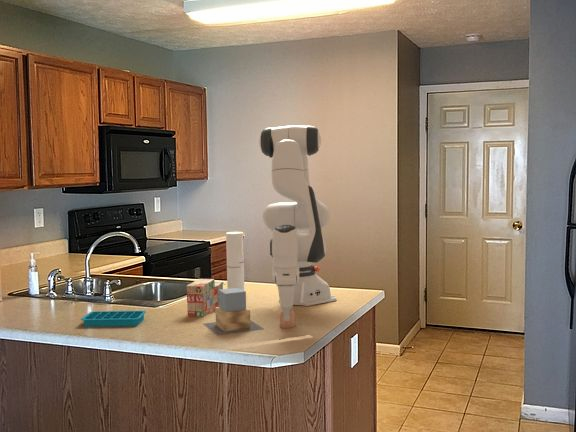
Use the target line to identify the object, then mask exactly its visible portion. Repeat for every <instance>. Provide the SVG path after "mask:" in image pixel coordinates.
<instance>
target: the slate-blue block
mask: <svg viewBox="0 0 576 432" xmlns="http://www.w3.org/2000/svg"><path fill="white" fill-rule="evenodd" d="M219 308H221V309H222V310H224V311H225V312H230V311H239V310H246V308H247V293H246V291H245V289H244V290H242V289H240V288H231V289H227V288H223V289H221V290H219Z"/></svg>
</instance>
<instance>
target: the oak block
mask: <svg viewBox="0 0 576 432" xmlns="http://www.w3.org/2000/svg"><path fill="white" fill-rule="evenodd" d="M214 314H215V322H216V325H217V326H218V327H219V328H221V329H222V330H223V331H231V330H238V329H246V328H251V325H250V320H251V310H250V309H249V308H248V307H246V310H239V311H230V312H225V311H224V310H222V309H221V308H219V307H215V312H214Z"/></svg>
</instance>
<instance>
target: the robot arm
mask: <svg viewBox="0 0 576 432" xmlns="http://www.w3.org/2000/svg"><path fill="white" fill-rule="evenodd" d="M258 143H259V148H260V150H261V153H262V154H264V156H266V157H269V158H271V159H272V161H271V182H272V187H273V189H274V190H275V192H276V193H278V194H279V195H280V196H282V197H284V198H287V199H289V200H291V201H283V202H282V201H281V202H279V201H278V202H274V203H270V204H268V205H267V206H266V207H265V208H264V209H263V213H262V221H263V223H264V225H265V226H266V228H267V229H269V230H270V231H271V232H273V233H272V237H271V239H270V240H269V255H270V256H271V258H272V264H271V266H272V268H271V270H272V271H271V274H272V275H271V276H272V278H271V279H272V282H274V283H275V284H276V286H277V290H278V299H279V304H280V309H281V310H283V312H284V320H285V321H289V320H290V310H293V306H294V305H295V306H304V307H308V306H309V307H310V306H313V305H318V304H323V303H325V304H326V303H331V302H336V301H337V296H336V295H335V294H332V293H331V289H330V285H329V283H328V282H326V281H325V280H324V279H322V277H320V276H319V275H317V273H320V267H319V266H318V265H317V266H316V265H315V266H314V265H313V264H312V263H314V264H315V263H316V264H317V263H318V262H320V261H322V260H323V259H324V258H325V257H326V252H327V245H326V240H325V238H324V235H323V232H322V229H325V228H326V226H327V225H328V223H329V220H330V211H329V209H328V206H327V205H326V204H325V203H323V202H322V201H320V200H319V199H318V198H317V197H316V194H315V191H314V189H313V187H312V186H311V183H310V174H309V173H310V172H309V160H308V158H309V157H310V156H313V155H315V154H317V153H318V152H319V150H320V147H321V145H322V137H321V133H320V132H319V129H318V128H317V126H312V125H295V124H293V125H292V124H291V125H285V126H284V125H283V126H275V127H272V126H270V127H266V128H263V129H262V131H261V133H260V136H259V141H258ZM308 156H309V157H308ZM298 231H309V232H306V233H305V232H302V233H301V232H300V233H299V232H298ZM316 272H317V273H316Z"/></svg>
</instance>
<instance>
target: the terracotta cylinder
mask: <svg viewBox="0 0 576 432" xmlns="http://www.w3.org/2000/svg"><path fill="white" fill-rule="evenodd" d="M278 314H279V315H278V322H279V323H278V324H279V328H281V329H293V328H295V324H296V323H295V310H293V309H290V320H289V321H285V320H284V312H283V309H281V310H279V311H278Z"/></svg>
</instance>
